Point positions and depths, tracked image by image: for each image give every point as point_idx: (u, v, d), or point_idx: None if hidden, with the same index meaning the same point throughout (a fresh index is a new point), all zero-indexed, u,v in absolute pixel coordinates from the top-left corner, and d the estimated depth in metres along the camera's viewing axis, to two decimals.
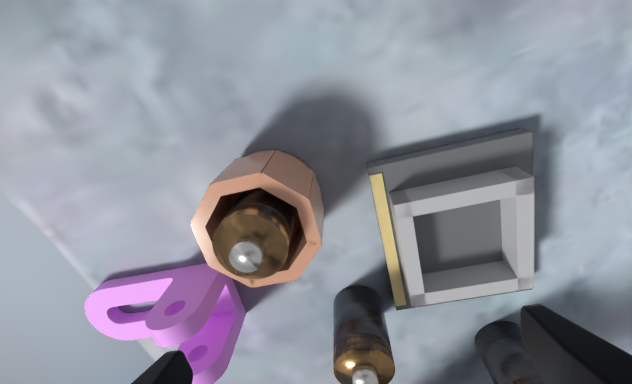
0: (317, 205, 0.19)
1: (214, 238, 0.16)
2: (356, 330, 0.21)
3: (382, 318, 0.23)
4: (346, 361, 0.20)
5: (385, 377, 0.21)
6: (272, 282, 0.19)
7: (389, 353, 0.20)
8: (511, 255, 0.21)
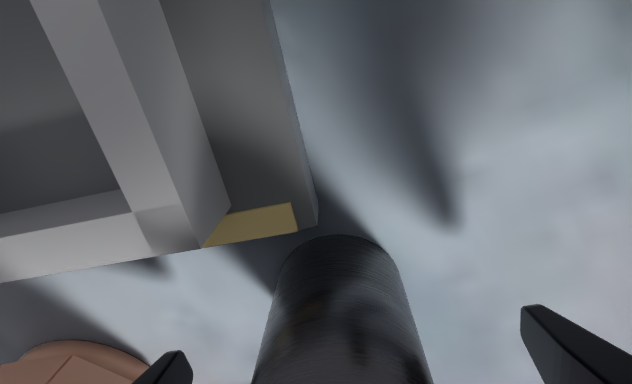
0: None
1: None
2: None
3: (291, 305, 0.07)
4: None
5: None
6: None
7: None
8: None
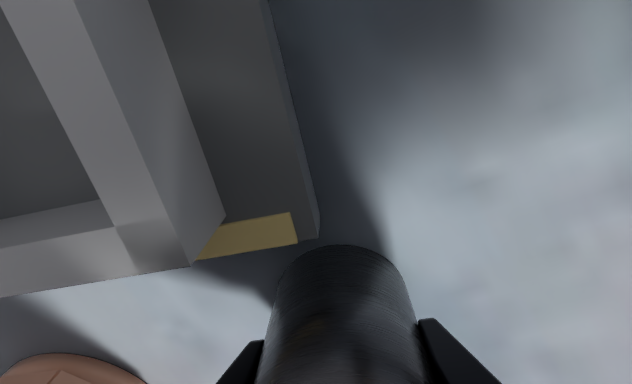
0: None
1: None
2: None
3: (291, 325, 0.07)
4: None
5: None
6: None
7: None
8: None
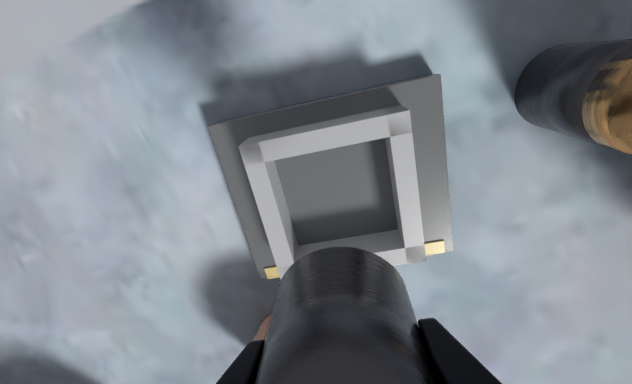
0: None
1: None
2: None
3: (291, 327, 0.07)
4: None
5: None
6: None
7: None
8: None
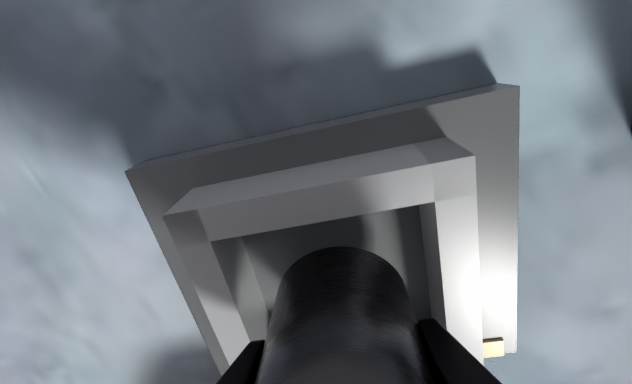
0: None
1: None
2: None
3: (291, 327, 0.07)
4: None
5: None
6: None
7: None
8: None
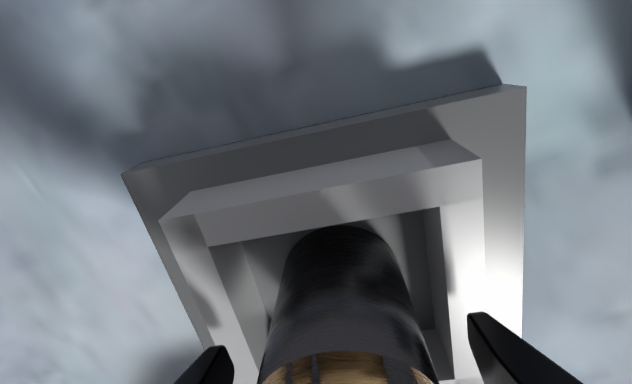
0: None
1: None
2: None
3: (299, 287, 0.08)
4: None
5: None
6: None
7: None
8: None
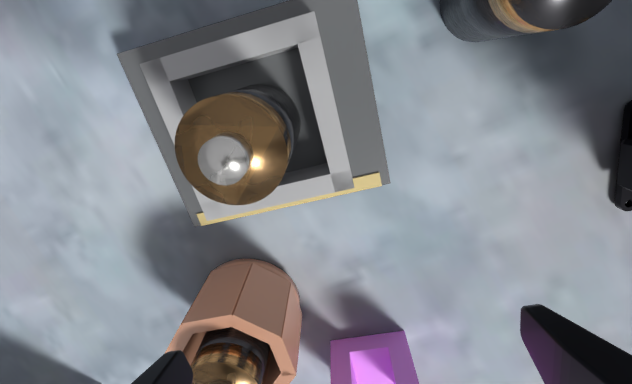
0: (218, 291, 0.18)
1: None
2: None
3: None
4: (214, 184, 0.12)
5: (243, 112, 0.11)
6: (287, 357, 0.17)
7: None
8: (271, 53, 0.14)
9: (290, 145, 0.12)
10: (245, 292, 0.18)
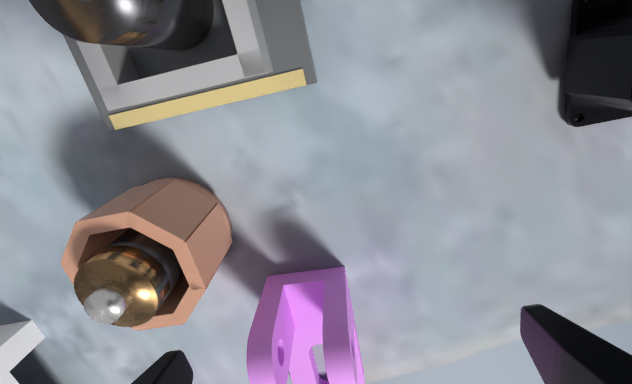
0: (128, 199, 0.17)
1: (113, 323, 0.16)
2: None
3: None
4: (65, 14, 0.10)
5: None
6: (194, 267, 0.16)
7: None
8: None
9: None
10: (155, 198, 0.17)
